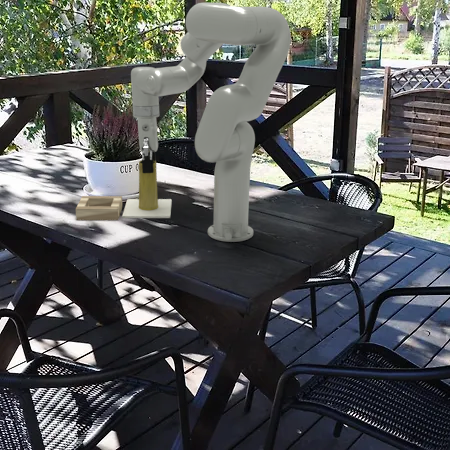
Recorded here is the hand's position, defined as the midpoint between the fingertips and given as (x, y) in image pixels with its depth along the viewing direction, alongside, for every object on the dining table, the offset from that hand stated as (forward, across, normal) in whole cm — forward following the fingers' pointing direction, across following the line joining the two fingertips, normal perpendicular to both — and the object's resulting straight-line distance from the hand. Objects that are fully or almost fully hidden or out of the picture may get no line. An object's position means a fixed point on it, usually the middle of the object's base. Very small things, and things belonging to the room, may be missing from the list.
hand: (149, 168), depth 179 cm
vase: (+12, +1, +1) cm, 12 cm away
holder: (+12, -3, +15) cm, 20 cm away
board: (+13, +1, +1) cm, 13 cm away
